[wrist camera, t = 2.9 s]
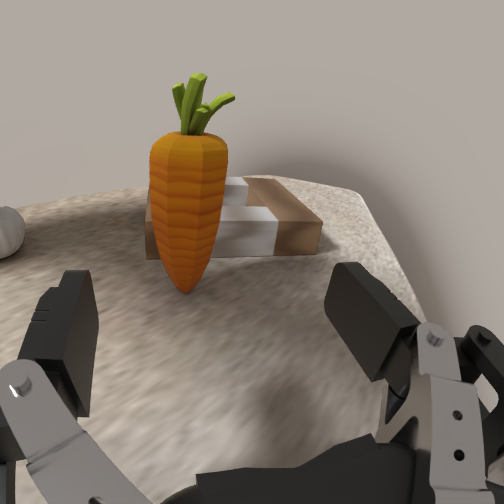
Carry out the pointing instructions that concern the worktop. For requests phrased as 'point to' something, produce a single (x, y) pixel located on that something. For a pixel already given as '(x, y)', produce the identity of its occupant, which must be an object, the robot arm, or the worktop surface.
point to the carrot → (188, 186)
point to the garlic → (10, 231)
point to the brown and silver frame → (256, 222)
